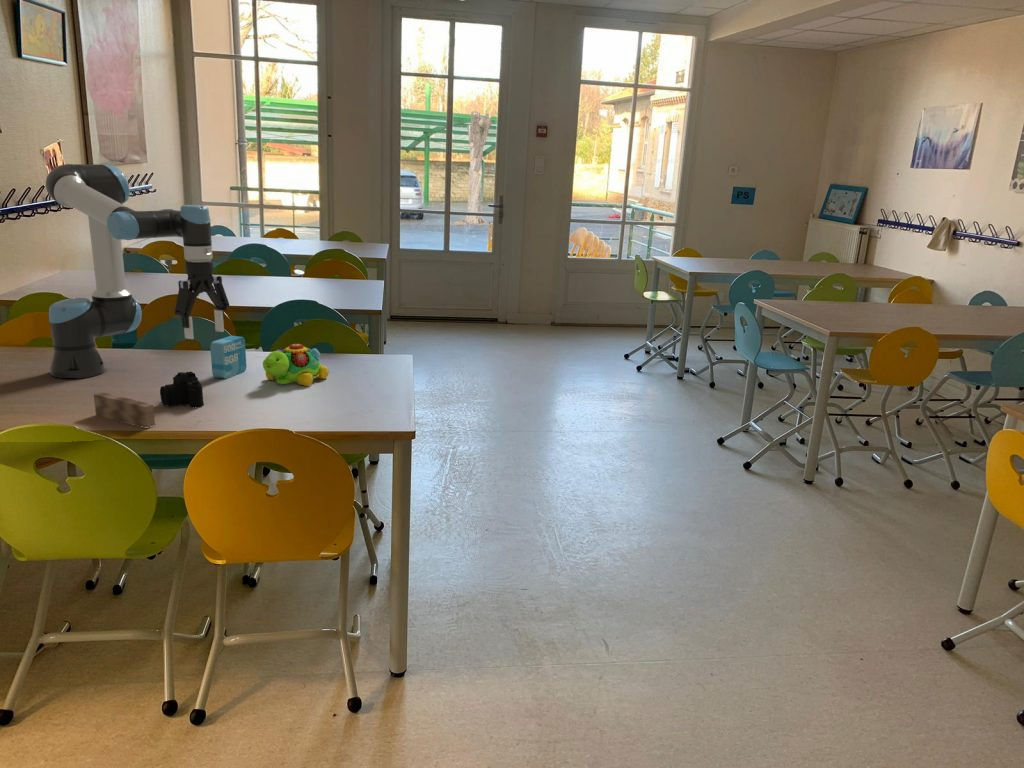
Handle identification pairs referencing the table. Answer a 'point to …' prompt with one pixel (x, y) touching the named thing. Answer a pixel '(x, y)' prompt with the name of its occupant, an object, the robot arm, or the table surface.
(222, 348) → the data package
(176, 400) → the film camera
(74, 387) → the table surface
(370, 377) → the table surface
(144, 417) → the stone brick
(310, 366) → the turtle toy
